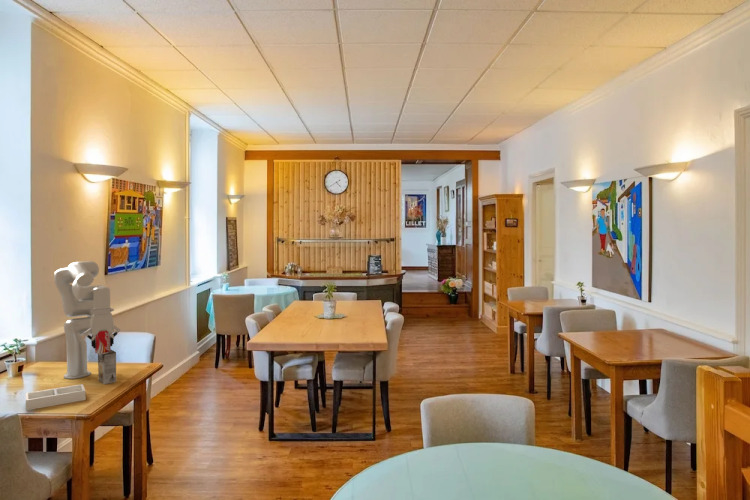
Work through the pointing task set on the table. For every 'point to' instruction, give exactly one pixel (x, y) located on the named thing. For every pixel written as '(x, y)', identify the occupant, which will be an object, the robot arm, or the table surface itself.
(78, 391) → the divided tray
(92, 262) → the robot arm
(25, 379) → the table surface
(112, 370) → the coffee box
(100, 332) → the soda can
